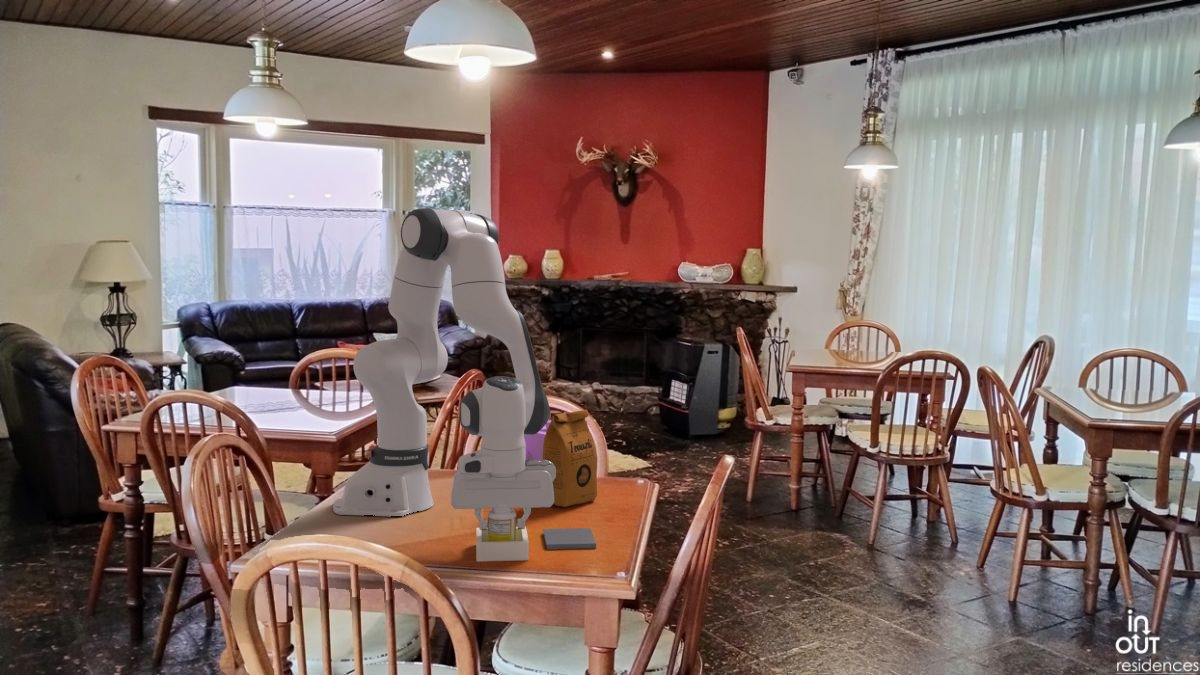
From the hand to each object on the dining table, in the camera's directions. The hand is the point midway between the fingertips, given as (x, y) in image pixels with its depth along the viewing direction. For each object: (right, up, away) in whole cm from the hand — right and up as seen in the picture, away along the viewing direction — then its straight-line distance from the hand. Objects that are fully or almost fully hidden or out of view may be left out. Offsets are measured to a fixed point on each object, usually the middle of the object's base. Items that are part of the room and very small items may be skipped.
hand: (502, 529), depth 178 cm
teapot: (+6, +1, +60) cm, 60 cm away
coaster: (+13, -4, +8) cm, 16 cm away
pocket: (0, -5, 0) cm, 5 cm away
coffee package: (+12, -2, +36) cm, 38 cm away
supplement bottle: (0, -5, 0) cm, 5 cm away
